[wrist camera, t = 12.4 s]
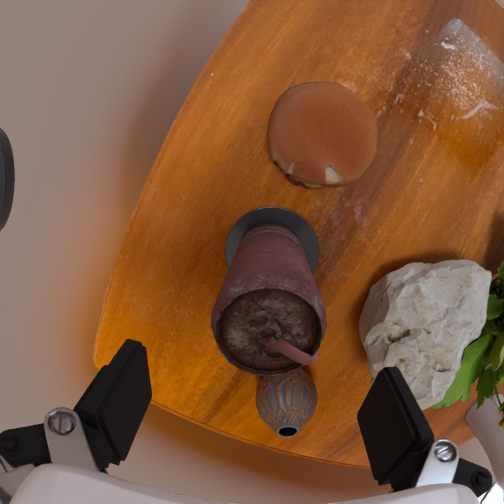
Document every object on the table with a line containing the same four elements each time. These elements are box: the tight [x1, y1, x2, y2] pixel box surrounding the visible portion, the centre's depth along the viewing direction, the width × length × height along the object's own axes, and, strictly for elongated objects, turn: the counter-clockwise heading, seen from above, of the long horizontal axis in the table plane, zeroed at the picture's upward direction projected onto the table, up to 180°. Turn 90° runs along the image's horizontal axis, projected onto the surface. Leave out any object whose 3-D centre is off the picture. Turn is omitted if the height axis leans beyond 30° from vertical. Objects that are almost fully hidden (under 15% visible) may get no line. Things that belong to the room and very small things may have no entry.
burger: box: [267, 82, 377, 189], centre depth 21 cm, size 10×9×5 cm
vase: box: [256, 368, 317, 438], centre depth 27 cm, size 7×7×9 cm
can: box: [211, 223, 327, 376], centre depth 20 cm, size 6×6×14 cm
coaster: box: [225, 206, 319, 274], centre depth 27 cm, size 9×9×1 cm
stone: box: [359, 259, 492, 411], centre depth 22 cm, size 16×10×15 cm, turn 107°
